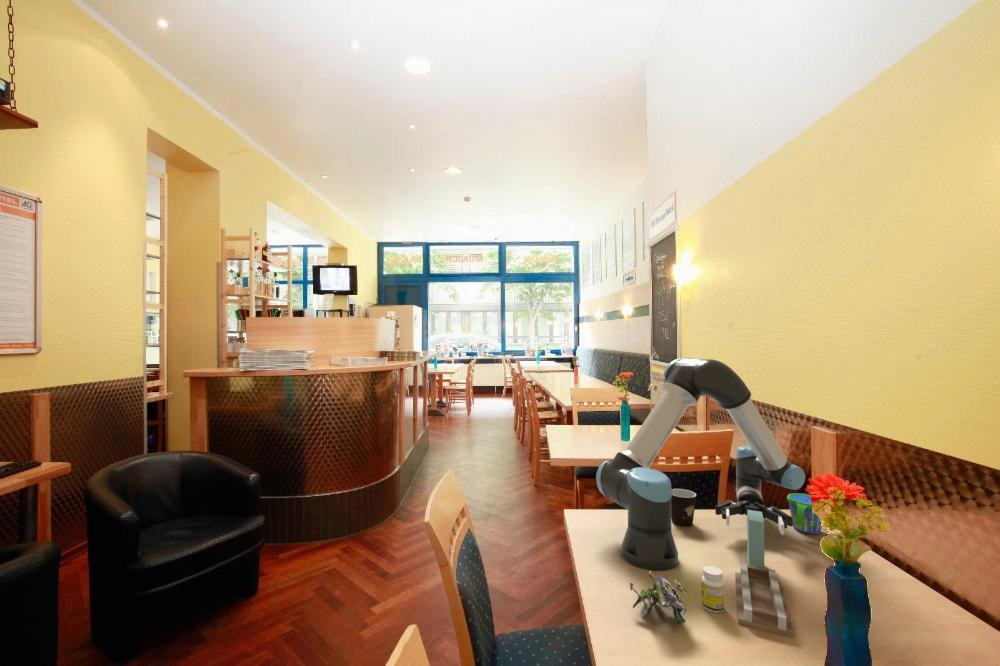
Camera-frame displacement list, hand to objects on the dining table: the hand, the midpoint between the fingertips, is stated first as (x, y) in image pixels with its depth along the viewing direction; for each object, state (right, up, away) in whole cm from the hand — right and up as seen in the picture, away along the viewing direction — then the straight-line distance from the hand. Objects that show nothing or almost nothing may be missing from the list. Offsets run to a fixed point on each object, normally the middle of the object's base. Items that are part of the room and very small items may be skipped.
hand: (754, 525), depth 129 cm
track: (-12, -8, -24) cm, 28 cm away
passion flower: (-38, -8, -30) cm, 49 cm away
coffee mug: (-13, -9, +22) cm, 27 cm away
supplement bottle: (-24, -8, -26) cm, 36 cm away
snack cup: (+26, -9, +17) cm, 33 cm away
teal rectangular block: (-4, -8, -8) cm, 12 cm away
